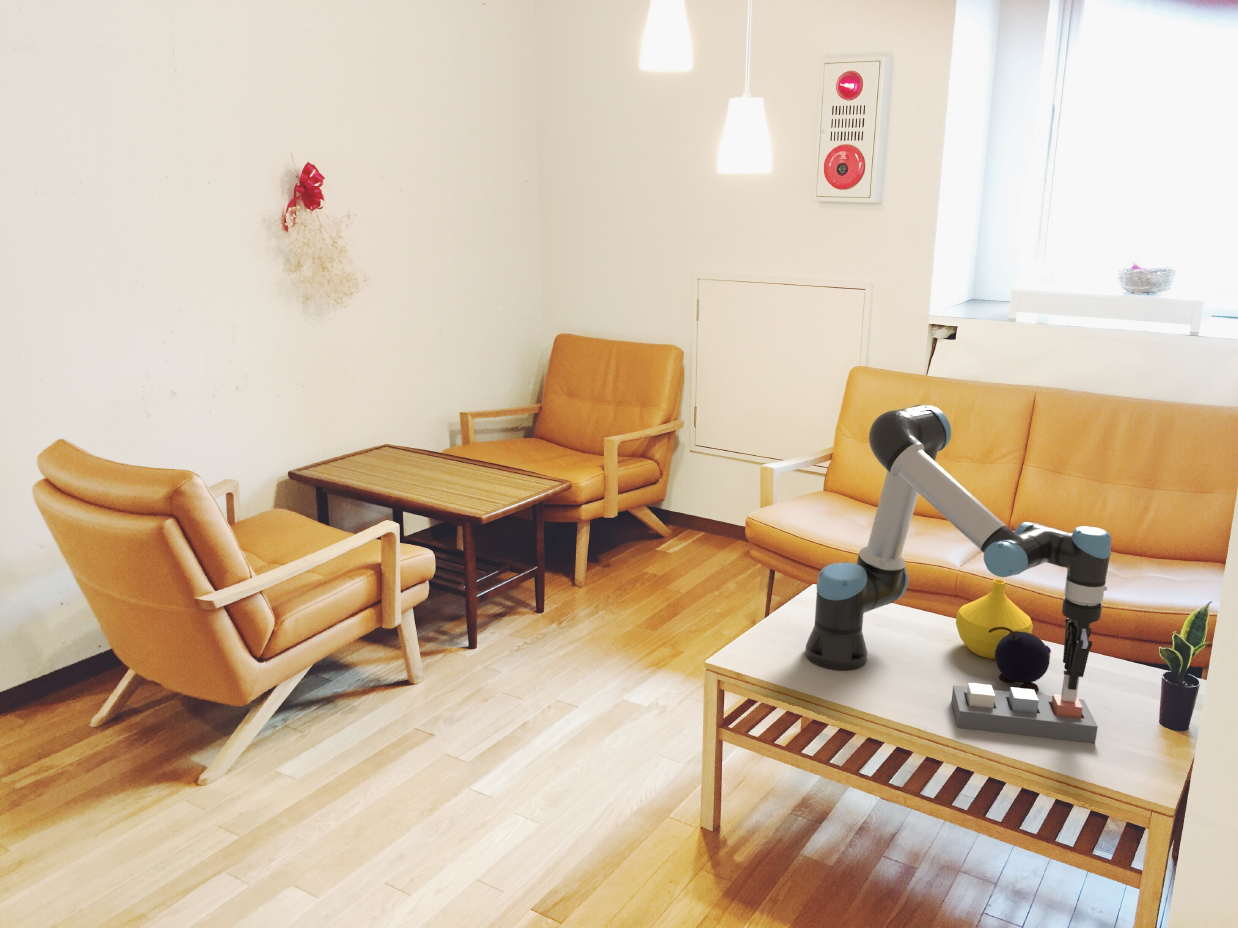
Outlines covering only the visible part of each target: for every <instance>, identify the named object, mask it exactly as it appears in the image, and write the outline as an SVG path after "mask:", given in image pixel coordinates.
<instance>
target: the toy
mask: <svg viewBox="0 0 1238 928" xmlns="http://www.w3.org/2000/svg"><path fill="white" fill-rule="evenodd" d="M999 629H1004V630H1007V631H1009V632H1010V633H1009V634H1008V635H1006V636H1005V637H1003V638H1002V639H1001V640H1000V642H999V643H998V645H997V647H996V650H995V659H994V660H995V664H996V667H997V668H998V670H999V671H1000V674H999V676H998V679H999V681H1001V682H1003V683H1005V684H1010V683H1014V682H1015V683H1019V684H1020V685H1021V686H1020V688H1024V689H1033V690H1034V691H1035V693H1038V692H1039V690H1040V688H1039V686H1038V684H1037V683H1034V682H1036V681H1039V680H1040V679H1041V678H1042V677H1043V676H1044V675H1045V674H1046V673H1047V671H1048V668H1049V666H1050V659H1051V653H1052V651H1051V648H1050V647H1049V645H1046V644H1045V642H1044V641H1043V640H1042V639H1041V638H1039V637H1038V636H1036V635H1035V634H1033V633H1032V634H1031V633H1027V632H1018V631H1014V632H1013V631H1012V630H1011V629H1009V628H1007V627H995V628H992V629H990V630H989V632H990V633H991V632H992V631H994V630H999Z"/></svg>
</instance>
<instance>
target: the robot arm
mask: <svg viewBox="0 0 1238 928" xmlns="http://www.w3.org/2000/svg"><path fill="white" fill-rule="evenodd" d="M946 415H947V414H945V413H944V412H943V411H942V410H941V409H939V408H938V407H936V406H933V405H929V404H925V405H924V404H920V405H919V404H917V405H913V406H910V407H906V408H901V409H894V410H888V411H886V412H884V413H882V414H880V415H879V416H877V418H875V420H874V421H873V422H872V424H871V427H870V430H869V434H868V440H869V442H868V443H869V447H870V448H871V451H872V454H873V455H874V457H875V458H876V460H877V461H878V462H879V464H881V465H882V467H883V468H884V469H885V470H886V475H885V479H884V482H883V486H882V489H881V494H880V497H879V501H878V505H877V509H876V513H875V516H874V520H873V523H872V528H871V531H870V535H869V538H868V542H867V545H866V546H864V547H862V548H860V550H859V552H858V556H857V560H856V563H853V562H846V561H845V562H841V563H840V562H833V563H831V564H830V563H829V564H828V565H826V566H824V567H823V568H822V569H821V570H820V571H819V574H818V577H817V578H818V579H817V583H816V598H815V599H816V601H815V613H814V614H815V615H814V625H813V627H812V631H811V632H810V635H809V636H808V639H807V641H806V645H805V653H804V654H805V657H806V658H807V659H808V660H809V661H810V662H811V663H813V664H815V665H817V666H820V667H822V668H826V669H831V670H837V671H838V670H839V671H849V670H855V669H859V668H861V667H863V666H864V665H866V663H867V659H868V650H867V646H866V642H865V637H864V634H863V625H864V624H863V622H864V615H865V613H868V612H870V611H873V610H875V609H878V608H881V607H883V606H887V605H890V604H892V603H894V602H896V601H897V600H899V599H900V598H901V597H902V596H904V594H905V593H906V592H907V589H908V586H909V574H908V573H907V568H906V561H905V558H903V556H902V554H903V550H904V548H905V543H906V540H907V537H908V533H909V529H910V526H911V522H912V519H913V515H914V511H915V508H916V505H917V502H918V498H919V495H920V496H922V498H923V499H925V501H927V502H928V503H929V504H930V505H931V506H932V507H933V508H934V509H935V510H936V511H938V512H939V513H940V514H941V515H942V516H943V517H944V518H945V519H946V520H948V522H949V523H951V524H952V525H953V526H954V528H956V529H957V530H958V531H959V532H960V533H961V534H962V535H964V537H966V538H967V539H968V540H969V541H970V542H971V543H972V544H973V545H975V546H976V547H977V548H978V549H979V550H980V551H981V552H982V553H983V562H984V564H985V567H986V569H987V570H988V571H989V572H990V573H991V574H992V575H994V576H996V577H999V578H1008V577H1012V576H1016V575H1019V574H1021V573H1023V572H1025V571H1027V570H1029V569H1031V568H1035V567H1037V566H1040V565H1043V564H1044V563H1045V564H1046V563H1048V564H1051V565H1053V566H1058V567H1061V568H1066V570H1067V571H1066V577H1065V584H1064V591H1063V595H1064V597H1063V599H1062V607H1061V613H1062V615H1063V616H1064V617H1065V620H1064V623H1065V626H1064V627H1065V630H1064V644H1063V645H1064V646H1063V656H1062V657H1063V658H1062V663H1063V664H1064V670H1063V680H1062V688H1061V694H1060V695H1061V699H1062V701H1068V702H1076V697H1078V689H1079V684H1080V683H1079V681H1080V678H1083V677H1084V674H1085V671H1086V667H1087V666H1086V665H1087V662H1088V658H1089V654H1090V651H1091V648H1092V646H1093V641H1091V640H1089V639H1090V637H1091V633H1092V628H1091V627H1090V624H1092V623H1096V622H1099V621H1100V619H1101V617H1102V610H1103V609H1102V608H1103V604H1102V602H1103V601H1104V593H1105V592H1106V591H1107V590H1108V586H1107V585H1106V583H1107V582H1106V581H1107V574H1108V568H1109V564H1110V563H1109V562H1110V558H1111V555H1112V552H1111V548H1112V536H1111V533H1109V532H1108V531H1107V530H1105V529H1102V528H1099V527H1096V526H1095V527H1093V526H1088V525H1085V526H1084V525H1082V526H1077V527H1075V528H1074V529H1073V531H1072V532H1069V531H1068V532H1067V531H1065V530H1061V529H1059V528H1058V529H1057V528H1053V527H1051V526H1048V525H1047V526H1046V525H1044V524H1041V523H1037V522H1036V523H1035V522H1030V521H1024V522H1021V523H1019V525H1018V527H1016V528H1015V530H1014V531H1013V530H1012V529H1011V528H1010V527H1008V526H1007V525H1006V524H1005V523H1004V522H1003V521H1002V520H1001V519H1000V518H998V516H996V515H995V514H994V513H993V512H992V511H991V510H990V509H989V508H988V507H986V505H985V504H983V503H982V502H980V500H979V499H977V498H976V497H975V496H974V495H973V494H972V493H971V492H969V490H967V489H966V488H965V487H964V486H963V485H962V484H961V483H960V482H958V480H956V478H954V477H953V476H952V475H951V474H949V472H948V471H946V470H945V469H944V468H943V467H942V466H941V465H939V463H937V462H936V460H937V459H936V458H937V455H938V452H940V451H942V450H944V449H945V448H946V447H947V446H948V445H949V443H950V441H951V438H952V426H951V423H950V421H949V420H948V417H947V416H946Z"/></svg>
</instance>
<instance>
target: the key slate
mask: <svg viewBox="0 0 1238 928" xmlns="http://www.w3.org/2000/svg"><path fill="white" fill-rule="evenodd" d="M1009 687H1010V686H1009ZM1009 691H1010V693H1009V701H1008V704H1009V706H1010V709H1011V711H1020V712H1029V713H1037V709H1038V702H1039V700H1038V698H1037V695H1036V693H1037V692H1035V691H1034V690H1033V689H1024V688H1021V687H1012V686H1011V687H1010V688H1009Z"/></svg>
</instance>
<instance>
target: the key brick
mask: <svg viewBox="0 0 1238 928" xmlns="http://www.w3.org/2000/svg"><path fill="white" fill-rule="evenodd" d="M1052 696H1053V697H1052V704H1051V709H1052V711H1053V714H1054V715H1056V716H1065V717H1074V718H1081V715H1082V708H1083V707H1082V705H1081V703H1080V701H1079V699H1080V698H1079V697H1078V696H1077V697H1076V702H1068V701H1062V699H1061V694H1057V693H1056V694H1055V693H1053V694H1052Z"/></svg>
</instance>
